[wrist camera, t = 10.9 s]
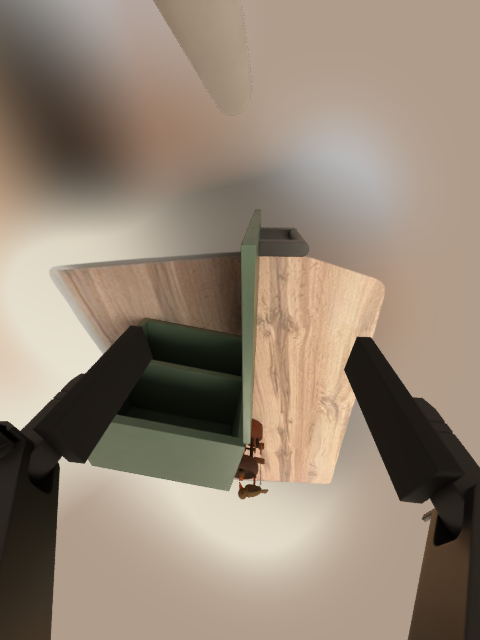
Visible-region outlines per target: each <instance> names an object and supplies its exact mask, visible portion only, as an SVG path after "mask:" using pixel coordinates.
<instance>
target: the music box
mask: <svg viewBox="0 0 480 640" xmlns="http://www.w3.org/2000/svg"><path fill="white" fill-rule="evenodd" d="M262 433H263V427H262V425H261V423H259V422H258V421H256V420H254V419H252V422H251V440H250V444H248V445H249V446H250V448H246V447H245V450H244V452H245V451H246V449H247V450H250V456H248V455H244V453H243V455H242V458H241V461H240V463H239V466H238V469H237V471H236V474H235V478H239V481H240V480H241V481H242V480H243V479H251V478H254V483H253V485H251V484H248V485H246V486H245V488H243V487H242V485H241V484H239V488H240V489H239V492H238V495H239V497H240V498H241V499H245V498H246V496H247V497H254V496H257V495H258V494H260V493H267V491H268V490H261V488H260V486H256V485H255V478H256V475H257V473H258V464H257V463H260V464H264V459H262V458H258V457H254V458H253V451H254V453H255V452H256V448H258V449H260V454H262V450H263V449H264V443H263V444H262V442H261V443H259V441H261V440H262ZM253 447H255V448H253ZM260 482H261V469H260ZM239 483H240V482H239ZM260 484H261V483H260Z"/></svg>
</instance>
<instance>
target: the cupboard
mask: <svg viewBox="0 0 480 640" xmlns="http://www.w3.org/2000/svg"><path fill="white" fill-rule="evenodd" d="M138 326H142V328H143V331H144V334H145V337H146V339H147V342H148V345H149V348H150V351H151V353H152V356H153V358H152V360H151V361H150V363H149V364H148V366H147V368H146V369H145V371H144V372H143V374H142V375H141V377H140V378H139V380H138V382H137V383H136V385H135V386H134V388H133V389H132V391H131V392H130V394H129V396H128V397H127V399H126V400H125V402H124V403H123V405H122V406H121V408H120V410H119V411H118V413H117V414H116V416H115V417H114V419H113V420H112V422H111V424H110V425H109V427H108V428H107V430H106V431H105V433H104V434H103V436H102V438H101V439H100V441H99V442H98V444H97V445H96V447H95V448H94V450H93V452H92V453H91V455H90V456H89V458H88V460H89V462H90V463H91V465H92V466H98V467H102V468H108V469H113V470H118V471H124V472H129V473H134V474H140V475H145V476H150V477H156V478H161V479H167V480H172V481H177V482H182V483H188V484H193V485H198V486H204V487H209V488H215V489H220V490H226V491H229V490H230V487H231V485H232V482H233V479H234V477H235V474H236V471H237V469H238V466H239V463H240V461H241V458H242V455H243V453H244V450H245V447H246V444H245V443H243V391H242V336H239V335H233V334H228V333H223V332H218V331H212V330H207V329H202V328H197V327H191V326H186V325H181V324H176V323H170V322H165V321H160V320H155V319H149V318H145V319H144V320H143V321H142V322H141V323H140V324H139V325H138Z"/></svg>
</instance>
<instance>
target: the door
mask: <svg viewBox="0 0 480 640" xmlns="http://www.w3.org/2000/svg"><path fill="white" fill-rule="evenodd" d="M308 252H309V246H308V244H307V243H306V242H305V240H304V239H303V238H302V236H301V235H300V234H299V232H298V231H297V229H295V228H261V210H255V212H254V214H253V217H252V219H251V222H250V224H249V227H248V229H247V232H246V234H245V237H244V239H243V242H242V244H241V298H242V391H243V443H245V444H250V440H251V422H252V404H253V386H254V368H255V351H256V331H257V306H258V280H259V256H279V257H303V256H305V255H307V254H308Z"/></svg>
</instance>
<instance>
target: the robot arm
mask: <svg viewBox="0 0 480 640" xmlns="http://www.w3.org/2000/svg"><path fill="white" fill-rule="evenodd" d="M152 358H153V356H152V353H151V351H150V348H149V345H148V342H147V339H146V337H145V334H144V331H143V328H142V326H130V327H129V328H128V329H127V330H126V331H125V332H124V333H123V334H122V335H121V336H120V337H119V338H118V340H117V341H116V342H115V343H114V344H113V345H112V346H111V347H110V348H109V349H108V350H107V351H106V352H105V353H104V354H103V355H102V356H101V358H100V359H99V360H98V361H97V362H96V363H95V364H94V365H93V366H92V367H91V368H90V369H89V370H88V371H87V373H85V374H80V375H78V376H77V377H75V378H74V379H72V380H71V381H70V382H69V383H68V384H67V385H66V386H65V387H64V388H63V389H62V390H61V392H59V393H58V394H57V395H56V396H55V397H54V399H53V400H51V401H50V402H49V403H48V404H47V405H46V406H45V407H44V408H43V409H42V410H41V411H40V412H39V413H38V414H37V415H36V416H35V417H34V418H33V419H32V420H31V421H30V422H29V423H28V424H27V425H26V426H25V427H24V428H23V429H22V430H21V431H19V430H18V429H17V428H16V427H14V426H13V425H12V424H11V423H9V422H8V421H0V640H51V621H52V604H53V585H54V565H55V547H56V529H57V509H58V490H59V472H60V467H59V463H58V461H59V459H60V458H61V457H62V456H63V457H64V458H65V459H67V460H68V461H69V462H76V463H85V462H86V461H87V459H88V458H89V456H90V455H91V453H92V452H93V450H94V448H95V447H96V445H97V444H98V442H99V441H100V439H101V438H102V436H103V434H104V433H105V431H106V430H107V428H108V427H109V425H110V424H111V422H112V420H113V419H114V417H115V416H116V414H117V413H118V411H119V410H120V408H121V406H122V405H123V403H124V402H125V400H126V399H127V397H128V396H129V394H130V392H131V391H132V389H133V388H134V386H135V385H136V383H137V382H138V380H139V378H140V377H141V375H142V374H143V372H144V371H145V369H146V368H147V366H148V364H149V363H150V361H151V360H152ZM344 371H345V373H346V375H347V378H348V380H349V382H350V385H351V387H352V389H353V392H354V394H355V396H356V399H357V401H358V403H359V406H360V408H361V410H362V413H363V415H364V417H365V420H366V422H367V424H368V427H369V429H370V432H371V434H372V436H373V439H374V441H375V443H376V446H377V448H378V450H379V453H380V455H381V457H382V460H383V462H384V464H385V467H386V469H387V471H388V474H389V476H390V478H391V481H392V483H393V485H394V488H395V490H396V492H397V495H398V497H399V500H400V501H404V502H413V503H423V502H425V501H426V500H428V499H429V498H430V499H431V501H432V503H433V505H434V507H435V509H433V510H431V511H429V512H428V513H426V514H424V516H423V518H422V519H423V520H424V521H425V522H426V521H428V520H430V519H431V520H430V526H429V531H428V537H427V542H426V547H425V552H424V557H423V563H422V568H421V573H420V578H419V584H418V589H417V595H416V600H415V605H414V610H413V615H412V621H411V626H410V631H409V636H408V640H480V467H479V466H478V465H477V463H476V462H475V461H474V459H473V458H472V457H471V455H470V454H469V453H468V452H467V450H466V449H465V447H464V446H463V445H462V444H461V442H460V441H459V440H458V438H457V437H456V436H455V435H454V434H453V433H452V430H451V429H450V428H449V426H448V425H447V424H445V421H444V420H443V418H442V417H441V416H440V414H439V413H438V412H437V410H436V409H435V408H434V407H432V406H431V405H430V404H429V403H428V402H427V401H425V400H424V399H423V398H414V397H412V396H411V395H410V393H409V392H408V390H407V389H406V387H405V386H404V384H403V383H402V382H401V380H400V379H399V377H398V376H397V374H396V373H395V371H394V370H393V369H392V367H391V366H390V364H389V363H388V361H387V360H386V359H385V357H384V355H383V354H382V353H381V351H380V350H379V348H378V347H377V345H376V344H375V342H374V341H373V340H372V338H371V337H357V338H356V341H355V343H354V346H353V348H352V351H351V353H350V356H349V358H348V361H347V363H346V366H345V369H344Z"/></svg>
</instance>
